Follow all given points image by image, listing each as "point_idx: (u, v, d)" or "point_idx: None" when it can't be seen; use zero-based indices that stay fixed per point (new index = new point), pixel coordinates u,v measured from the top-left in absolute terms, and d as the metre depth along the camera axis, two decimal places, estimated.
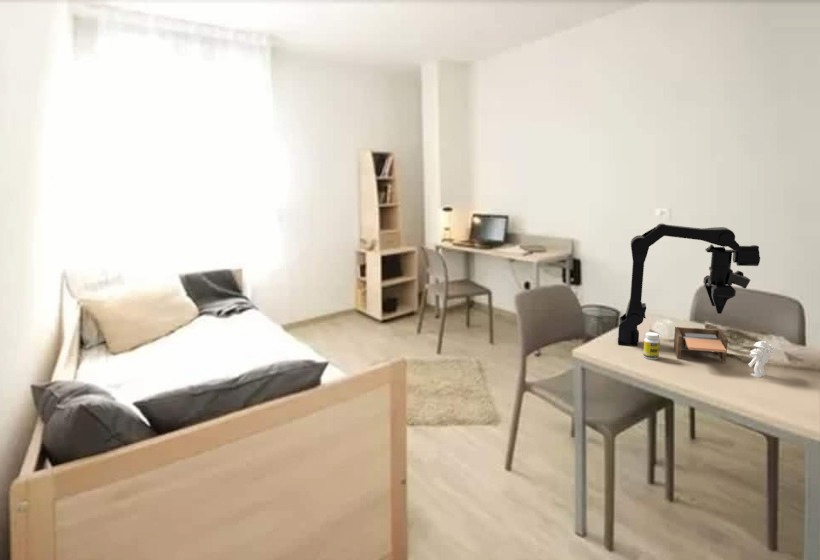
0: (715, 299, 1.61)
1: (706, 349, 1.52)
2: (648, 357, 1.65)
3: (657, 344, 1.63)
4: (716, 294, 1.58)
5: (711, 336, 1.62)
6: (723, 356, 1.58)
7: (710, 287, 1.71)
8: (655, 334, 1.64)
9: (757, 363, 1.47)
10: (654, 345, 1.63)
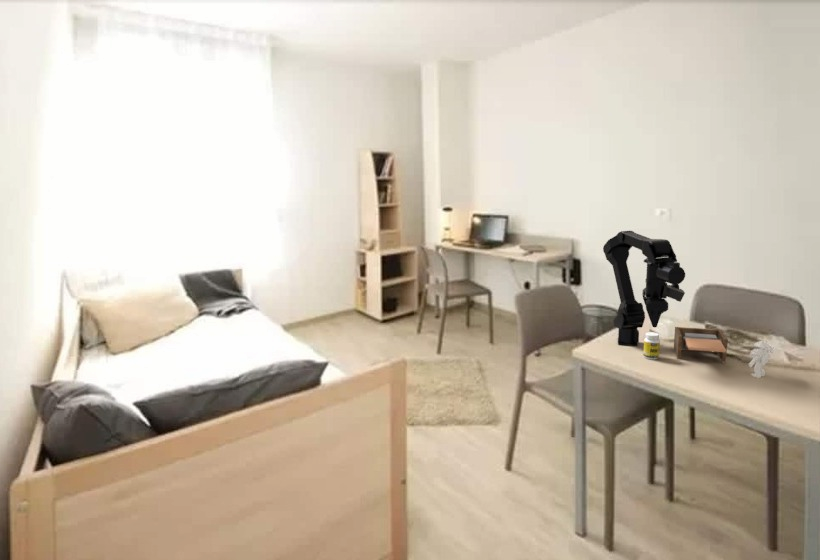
0: (649, 313, 1.57)
1: (706, 349, 1.52)
2: (648, 357, 1.65)
3: (657, 344, 1.63)
4: (649, 308, 1.54)
5: (711, 336, 1.62)
6: (723, 356, 1.58)
7: None
8: (655, 334, 1.64)
9: (757, 363, 1.47)
10: (654, 345, 1.63)
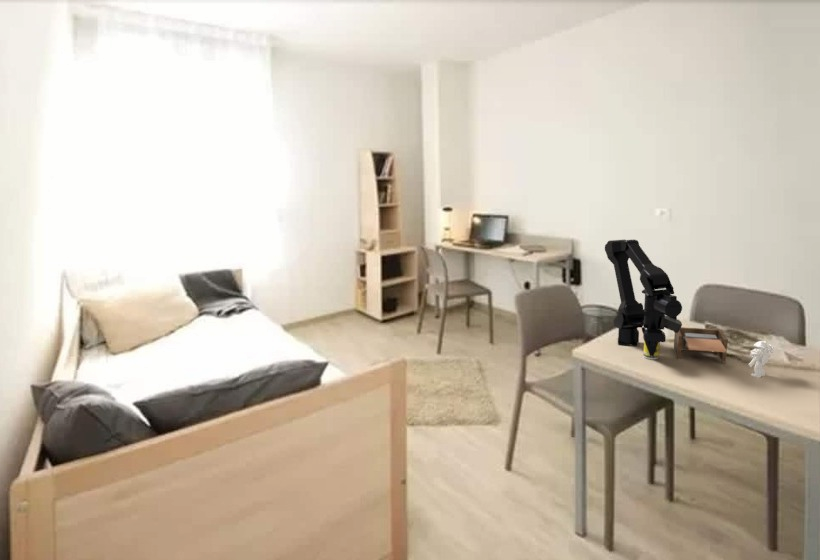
0: (646, 341, 1.62)
1: (706, 349, 1.52)
2: (648, 357, 1.65)
3: None
4: (646, 339, 1.57)
5: (711, 336, 1.62)
6: (723, 356, 1.58)
7: None
8: None
9: (757, 363, 1.47)
10: None
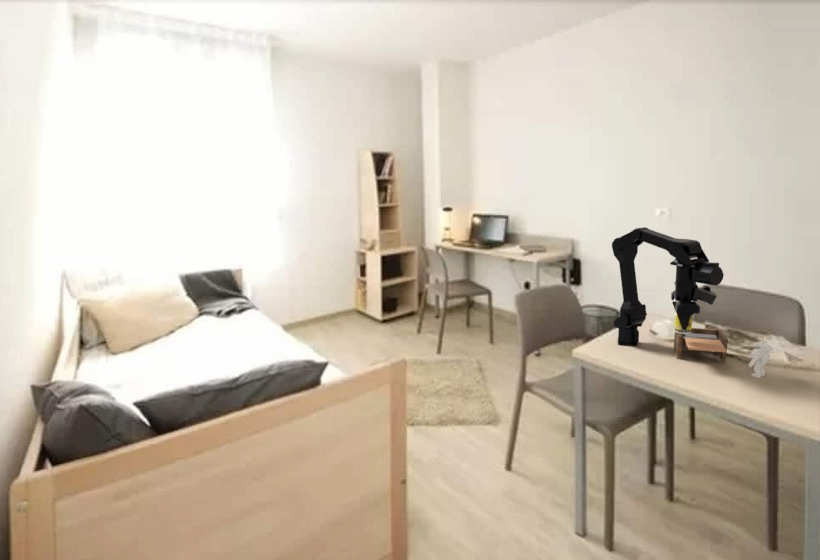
0: (679, 314, 1.53)
1: (706, 349, 1.52)
2: (680, 331, 1.56)
3: None
4: (679, 311, 1.48)
5: (711, 336, 1.62)
6: (723, 356, 1.58)
7: None
8: None
9: (757, 363, 1.47)
10: None
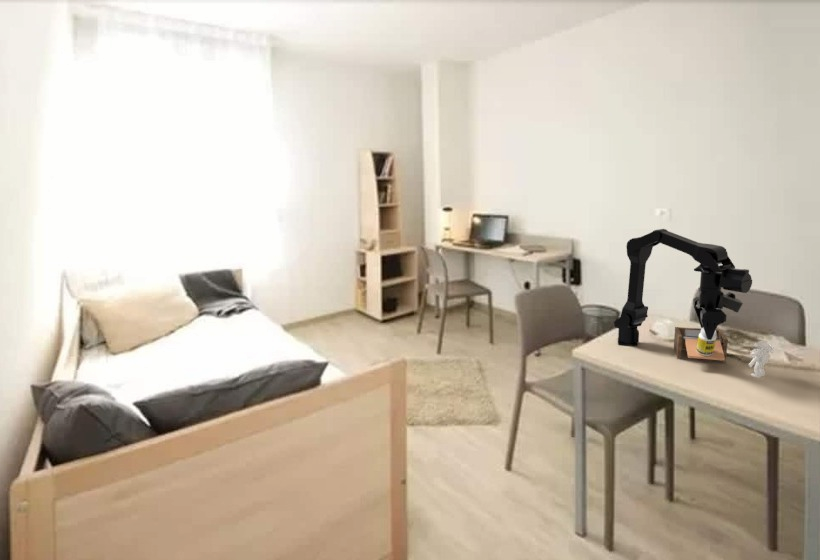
0: (704, 324, 1.48)
1: (705, 357, 1.53)
2: (702, 354, 1.53)
3: (713, 341, 1.51)
4: (705, 319, 1.45)
5: None
6: None
7: (700, 309, 1.57)
8: None
9: (757, 363, 1.47)
10: (710, 343, 1.51)
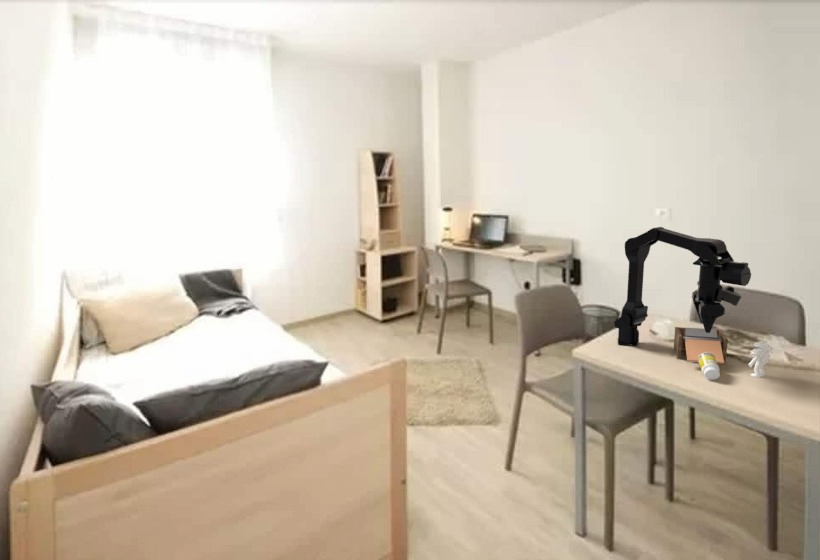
0: (703, 317, 1.49)
1: None
2: None
3: None
4: (704, 312, 1.45)
5: (712, 332, 1.61)
6: (723, 356, 1.58)
7: (699, 303, 1.58)
8: (715, 376, 1.46)
9: (757, 363, 1.47)
10: None
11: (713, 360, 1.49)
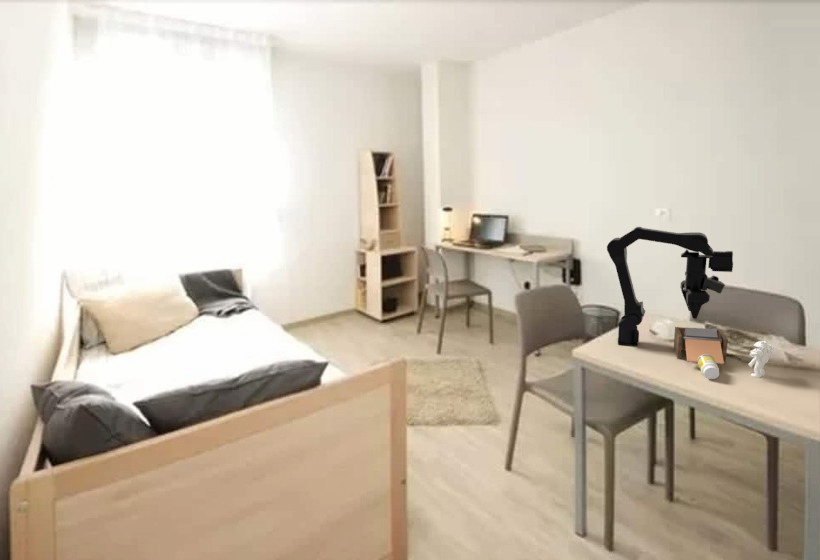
0: (690, 304, 1.61)
1: None
2: None
3: None
4: (690, 299, 1.58)
5: (712, 332, 1.61)
6: (723, 356, 1.58)
7: (686, 292, 1.71)
8: (715, 374, 1.46)
9: (757, 363, 1.47)
10: None
11: (712, 360, 1.49)
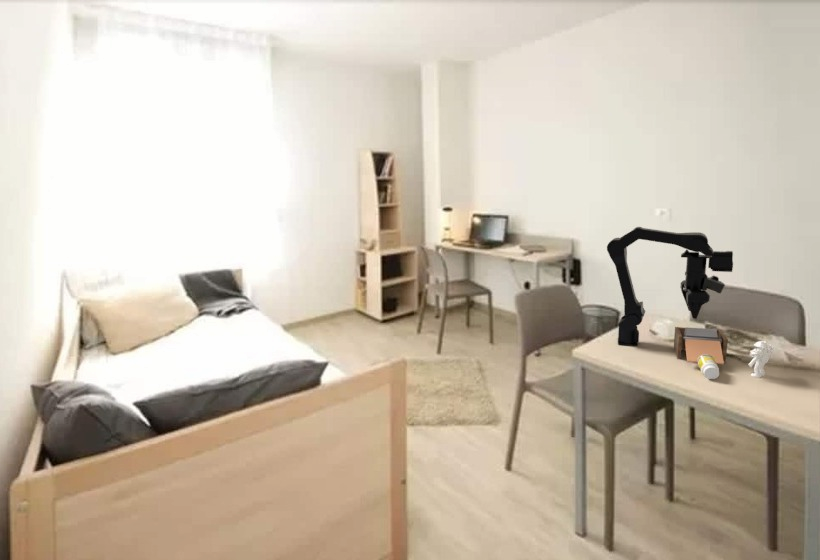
0: (690, 304, 1.61)
1: None
2: None
3: None
4: (690, 299, 1.58)
5: (712, 332, 1.61)
6: (723, 356, 1.58)
7: (686, 292, 1.71)
8: (715, 374, 1.46)
9: (757, 363, 1.47)
10: None
11: (712, 360, 1.49)
